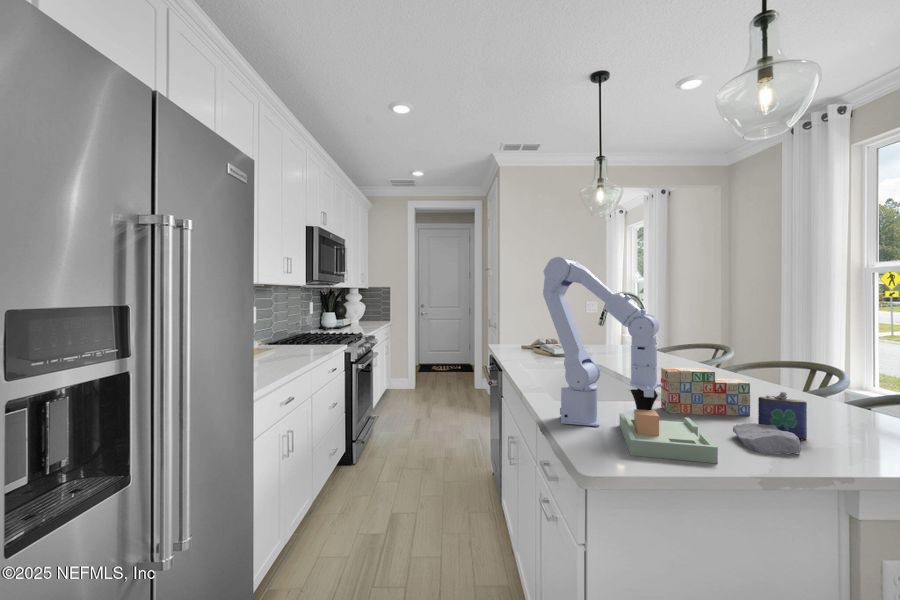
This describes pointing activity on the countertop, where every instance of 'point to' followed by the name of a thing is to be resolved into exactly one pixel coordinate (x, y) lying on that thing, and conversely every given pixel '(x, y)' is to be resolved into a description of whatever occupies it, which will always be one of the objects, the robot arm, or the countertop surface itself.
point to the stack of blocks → (703, 393)
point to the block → (646, 422)
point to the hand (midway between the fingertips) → (643, 420)
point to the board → (670, 441)
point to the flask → (784, 414)
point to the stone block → (767, 438)
